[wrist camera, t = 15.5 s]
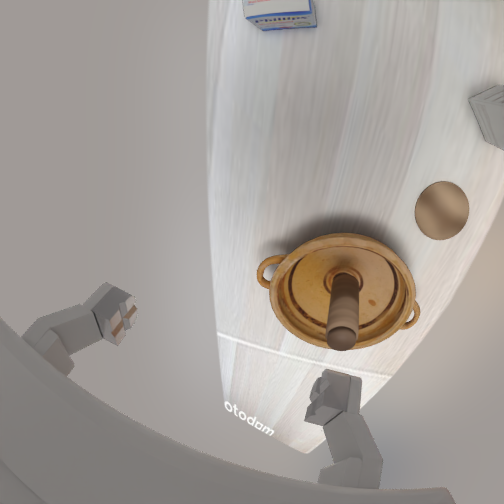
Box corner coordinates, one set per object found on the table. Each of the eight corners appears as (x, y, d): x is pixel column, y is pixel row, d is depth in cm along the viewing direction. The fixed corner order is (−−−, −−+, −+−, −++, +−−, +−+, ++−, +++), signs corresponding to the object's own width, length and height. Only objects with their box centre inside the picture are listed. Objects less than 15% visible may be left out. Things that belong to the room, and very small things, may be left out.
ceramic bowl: (255, 295, 58) (243, 323, 52) (282, 188, 44) (270, 209, 37) (384, 335, 54) (384, 365, 48) (443, 246, 40) (456, 274, 33)
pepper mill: (337, 270, 39) (332, 326, 31) (363, 279, 39) (364, 336, 30) (327, 290, 42) (319, 346, 33) (352, 299, 41) (349, 355, 33)
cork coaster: (429, 171, 34) (431, 172, 34) (476, 196, 33) (478, 198, 32) (405, 225, 40) (405, 227, 40) (451, 246, 39) (452, 247, 38)
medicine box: (262, 31, 30) (243, 19, 23) (259, 6, 28) (239, -11, 21) (317, 27, 28) (312, 12, 21) (314, 1, 26) (307, -19, 19)
